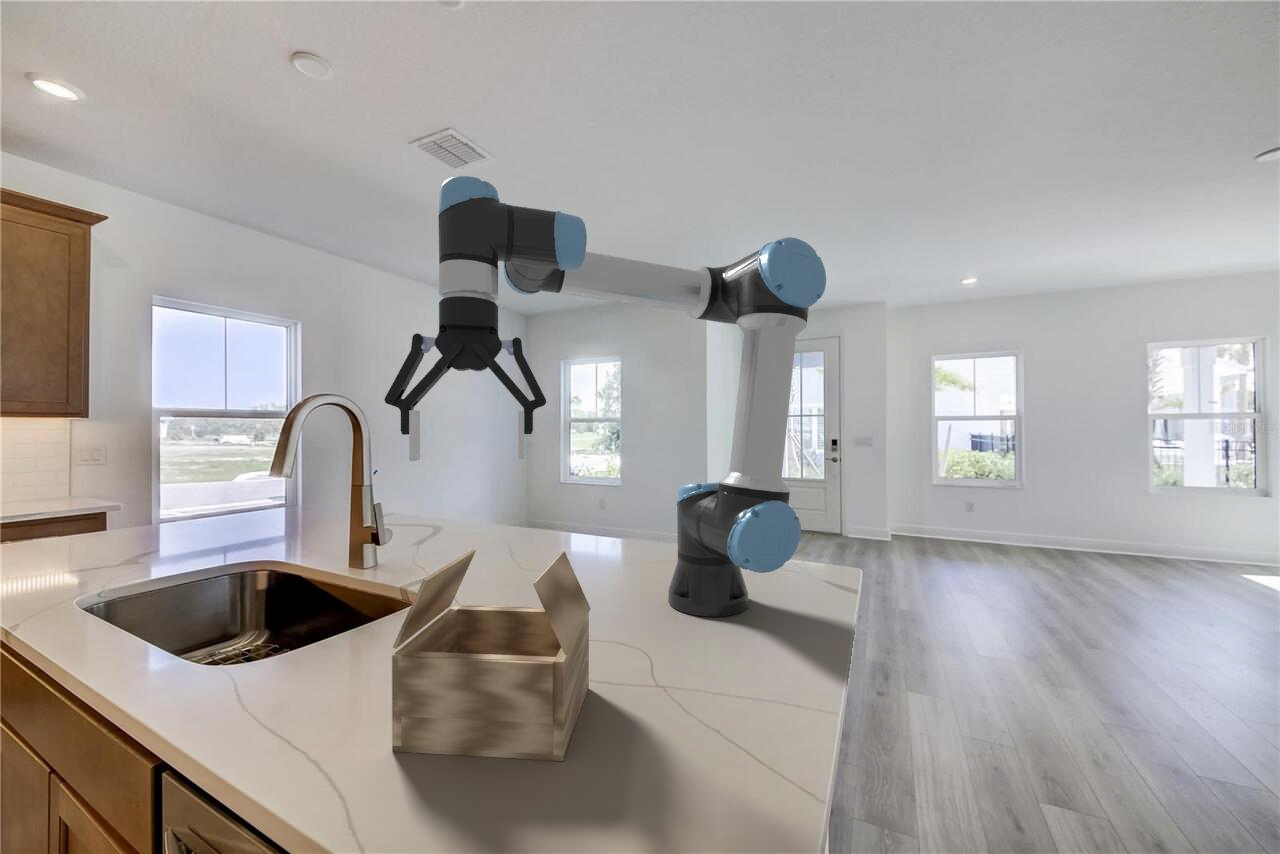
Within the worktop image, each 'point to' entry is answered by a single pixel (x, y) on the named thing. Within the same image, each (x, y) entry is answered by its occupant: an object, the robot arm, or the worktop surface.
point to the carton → (489, 685)
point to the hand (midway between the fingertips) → (469, 459)
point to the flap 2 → (562, 601)
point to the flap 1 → (434, 596)
